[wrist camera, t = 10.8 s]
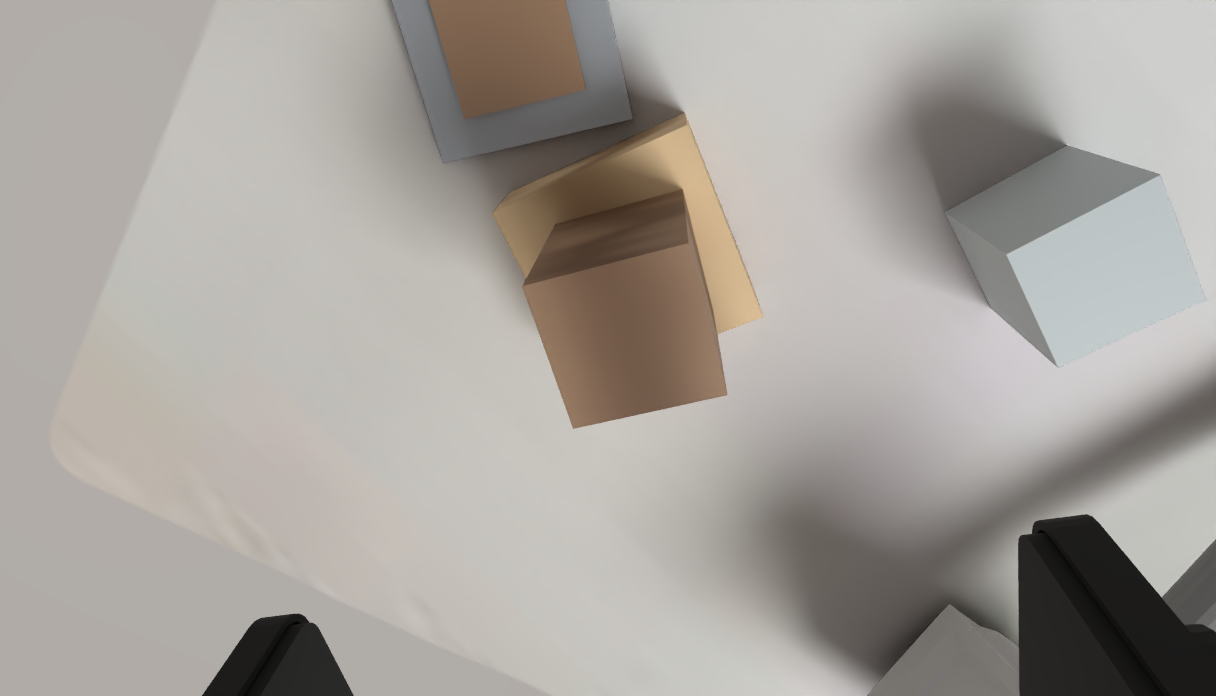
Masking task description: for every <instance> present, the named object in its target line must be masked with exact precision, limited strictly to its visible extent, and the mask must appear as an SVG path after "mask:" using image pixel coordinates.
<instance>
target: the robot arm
mask: <svg viewBox="0 0 1216 696" xmlns="http://www.w3.org/2000/svg"><path fill="white" fill-rule="evenodd" d="M1018 580H1019V694H1020V696H1216V632H1215V631H1214V630H1212V629H1210V628H1208V627H1207V626H1205V625H1203V624H1187V625H1184V624H1183V623H1182V621H1181V620H1180V619H1179V618H1178V617H1177V615H1176V614H1175V613H1174V612H1173V611H1172V609H1171V608H1170V607H1169V606H1168V605H1167V604H1166V602H1165V601H1164V600H1163V599H1162V598H1161V596H1160V595H1159V594H1158V593H1157V592H1156V590H1155V589H1154V588H1153V587H1152V586H1151V584H1150V583H1149V582H1148V581H1147V580H1146V578H1145V577H1144V576H1143V575H1142V574H1141V573H1140V571H1139V570H1138V569H1137V568H1136V567H1135V565H1134V564H1133V563H1132V562H1131V561H1130V559H1129V558H1128V557H1127V556H1126V555H1125V553H1124V552H1123V551H1122V550H1121V549H1120V548H1119V546H1118V545H1117V544H1116V543H1115V542H1114V540H1113V539H1112V538H1111V537H1110V536H1109V534H1108V533H1107V532H1106V531H1105V530H1104V528H1103V527H1102V526H1101V525H1100V524H1099V522H1097V521H1096V520H1095V519H1094V518H1093V517H1092V516H1090V515H1087V514H1086V515H1078V516H1070V517H1062V518H1054V519H1046V520H1039V521H1036V522H1035V523H1034V525H1033V529H1032V534H1028V535H1022V536H1020V538H1019V543H1018ZM202 696H353V694H352V692H351V690H350V688H349V686H348V684H347V682H346V680H345V678H344V676H343V674H342V672H341V670H340V668H339V667H338V665H337V663H336V661H335V659H334V657H333V655H332V653H331V651H330V649H329V647H328V645H327V644H326V641H325V640H324V638H323V636H322V634H321V632H320V630H319V628H318V627H317V626H316V625H315V624H314V623H309V621H308V620H307V619H306V617H305V616H303V615H301V614H289V615H282V616H274V617H265V618H260V619H258V620H256V621H255V622H254V623H253V624H252V625H251V626H250V627H249V628H248V630H247V631H246V633H245V634H244V636H243V637H242V639H241V640H240V641H239V643H238V644H237V646H236V647H235V649H234V650H233V652H232V653H231V655H230V656H229V658H228V659H227V660H226V662H225V663H224V665H223V666H222V668H221V669H220V671H219V672H218V673H217V675H216V676H215V678H214V679H213V681H212V682H211V683H210V685H209V686H208V688H207V689H206V691H205V692H204V694H203V695H202Z"/></svg>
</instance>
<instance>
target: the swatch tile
mask: <svg viewBox="0 0 1216 696" xmlns="http://www.w3.org/2000/svg"><path fill="white" fill-rule="evenodd" d="M392 4H393V7H394V10H395V13H396V16H397V19H398V22H399V26H400V29H401V32H402V35H403V38H404V41H405V44H406V48H407V51H408V54H409V57H410V60H411V63H412V67H413V70H414V73H415V76H416V79H417V82H418V85H419V89H420V92H421V95H422V98H423V101H424V104H425V108H426V111H427V114H428V117H429V120H430V123H431V126H432V130H433V133H434V136H435V139H436V142H437V145H438V148H439V152H440V155H441V158H442V161H443V163H447V162H451V161H456V160H460V159H464V158H469V157H473V156H477V155H481V154H486V153H490V152H494V151H499V150H503V149H507V148H511V147H516V146H520V145H524V144H528V143H533V142H537V141H541V140H546V139H550V138H554V137H558V136H563V135H567V134H571V133H576V132H580V131H584V130H588V129H593V128H597V127H601V126H605V125H610V124H614V123H618V122H623V121H627V120H631V119H632V118H633V117H632V113H631V108H630V103H629V98H628V94H627V89H626V84H625V79H624V75H623V70H622V65H621V60H620V56H619V51H618V46H617V41H616V36H615V32H614V27H613V22H612V17H611V13H610V8H609V3H608V0H392Z"/></svg>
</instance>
